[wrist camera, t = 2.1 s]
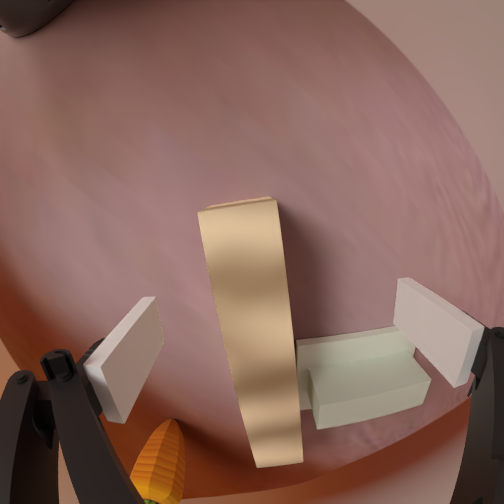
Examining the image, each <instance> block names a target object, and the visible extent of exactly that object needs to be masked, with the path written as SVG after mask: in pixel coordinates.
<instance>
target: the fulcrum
mask: <svg viewBox="0 0 504 504" xmlns="http://www.w3.org/2000/svg"><path fill="white" fill-rule="evenodd" d="M415 347H416V346H415V345H414V344H413V343H412V342H411V341H410V340H409V339H408V338H407V337H406V336H405V335H404V334H403V333H402V332H401V331H400V330H399V329H398V328H397V327H396V326H391V327H386V328H380V329H374V330H368V331H362V332H356V333H349V334H342V335H334V336H326V337H318V338H309V339H300V340H296V371H297V382H298V394H299V406H300V410H307V409H312V412H313V415H314V419H315V423H316V427H317V430H318V429H324V428H330V427H336V426H341V425H346V424H351V423H356V422H361V421H365V420H369V419H373V418H377V417H381V416H385V415H389V414H392V413H396V412H399V411H402V410H406V409H409V408H412V407H415V406H418V405H421V404H423V402H424V399H425V396H426V393H427V391H428V388H429V385H430V382H431V378H430V377H429V376H428V375H427V373H426V372H425V371H424V370H423V369H422V367H421V366H420V365H419V364H418V363H417V362H416V360H415V359H414V358H413V355H414V351H415Z"/></svg>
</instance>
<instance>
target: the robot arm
mask: <svg viewBox="0 0 504 504" xmlns="http://www.w3.org/2000/svg"><path fill="white" fill-rule="evenodd" d="M73 1H74V0H0V30H1V31H2V32H4V33H6V34H8V35H10V36H12V37H21V36H25V35H27V34H29V33H31V32H33V31H35V30H37V29H39V28H40V27H42V26H43V25H45V24H46V23H47V22H49V21H50V20H52V19H53V18H54V17H55V16H57V15H58V14H59V13H60V12H61V11H63V10H64V9H65V8H66V7H67V6H68V5H69V4H70V3H72V2H73ZM393 324H394V325H395V326H396V327H397V328H398V329H399V330H400V331H401V332H402V333H403V334H404V335H405V336H406V337H407V338H408V339H409V340H410V341H411V342H412V343H413V344H414V345H415V346H416V347H417V348H418V349H419V350H420V352H421V353H422V354H423V355H424V356H425V357H426V358H427V359H428V360H429V361H430V362H431V363H432V364H433V365H434V366H435V368H436V369H437V370H438V371H439V372H440V373H441V374H442V375H443V376H444V377H445V378H446V380H447V381H448V382H449V383H450V384H451V385H452V386H453V387H454V388H456V387H458V386H461V385H463V384H465V383H467V380H468V378H469V375H470V372H472V373H474V374H475V378H474V380H473V383H472V385H471V388H470V390H469V393H468V395H467V396H468V397H469V396H470V394H471V393H472V398H471V408H470V417H469V424H468V431H467V437H466V443H465V448H464V453H463V457H462V463H461V466H460V470H459V475H458V478H457V482H456V485H455V489H454V492H453V496H452V498H451V501H450V504H504V328H503V327H494V328H492V329H491V330H490V329H489V328H487V327H486V326H485V325H483V324H482V323H480V322H479V321H477V320H475V319H474V318H473V317H471V316H470V315H468V314H467V313H465V312H464V311H462V310H460V309H458V308H457V307H455V306H453V305H452V304H450V303H449V302H447V301H446V300H444V299H443V298H441V297H440V296H438V295H437V294H435V293H433V292H432V291H430V290H429V289H427V288H426V287H424V286H422V285H421V284H419V283H418V282H416V281H414V280H413V279H411V278H409V277H407V278H399V279H398V284H397V295H396V304H395V312H394V320H393ZM164 343H165V339H164V334H163V329H162V325H161V320H160V315H159V310H158V304H157V299H156V297H143V298H142V299H141V300H140V301H139V302H138V303H137V304H136V305H135V306H134V307H133V308H132V310H131V311H130V312H129V313H128V314H127V315H126V316H125V317H124V318H123V319H122V321H121V322H120V323H119V324H118V325H117V326H116V327H115V328H114V329H113V331H112V332H111V333H110V334H109V335H108V336H107V337H106V338H102V339H101V340H99V341H97V342H96V343H94V344H93V345H92V346H91V348H90V349H89V350H88V351H87V352H86V353H85V355H83V356H82V358H81V359H80V360H79V361H78V362H77V363H76V364H75V363H74V360H73V357H72V355H71V353H70V351H68V350H66V349H58V350H53V351H50V352H48V353H47V354H45V355H44V356H43V357H42V358H41V360H40V363H41V366H42V368H43V370H44V373H45V375H46V377H47V379H48V381H37V380H36V378H35V376H34V374H33V372H32V371H29V370H22V371H18V372H15V373H14V374H13V375H12V376H11V377H10V378H9V380H8V382H7V384H6V387H5V389H4V392H3V394H2V397H1V400H0V504H59V493H58V451H59V441H60V445H61V449H62V452H63V456H64V459H65V463H66V466H67V469H68V472H69V475H70V479H71V482H72V484H73V487H74V490H75V493H76V495H77V498H78V500H79V503H80V504H146V503H145V501H144V500H143V498H142V497H141V495H140V494H139V492H138V491H137V489H136V487H135V486H134V484H133V482H132V481H131V479H130V477H129V476H128V474H127V472H126V470H125V469H124V467H123V465H122V463H121V461H120V459H119V458H118V456H117V454H116V452H115V450H114V448H113V446H112V444H111V442H110V440H109V438H108V435H107V433H106V431H105V429H104V427H103V425H102V422H101V420H100V418H99V416H100V414H101V412H102V410H103V412H104V414H105V416H106V418H107V420H108V421H111V422H117V423H123V424H125V422H126V419H127V417H128V415H129V413H130V411H131V409H132V407H133V405H134V403H135V401H136V399H137V397H138V395H139V393H140V391H141V389H142V387H143V385H144V383H145V381H146V379H147V377H148V375H149V373H150V371H151V369H152V367H153V365H154V363H155V361H156V359H157V357H158V355H159V353H160V351H161V349H162V347H163V345H164Z"/></svg>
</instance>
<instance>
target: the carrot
mask: <svg viewBox="0 0 504 504" xmlns="http://www.w3.org/2000/svg"><path fill="white" fill-rule="evenodd" d="M185 470H186V454H185V443H184V439H183V435H182V432H181V430H180V427H179V425H178V423H177V421H176V420H174V419H168V420H167V421H165V422H164V423H162V424H161V425H160V426H159V427H158V428H157V429H156V430H155V431H154V432H153V434H152V435H151V436H150V438H149V439H148V441H147V443H146V444H145V446H144V448H143V449H142V451H141V453H140V454H139V456H138V458H137V461H136V463H135V465H134V468H133V470H132V473H131V475H130V479H131V481H132V482H133V484H134V486H135V487H136V489H137V491H138V492H139V494H140V495H141V497H142V498H143V500H144V501H145V503H146V504H178V503H179V502H180V501H181V499H182V494H183V487H184V479H185Z"/></svg>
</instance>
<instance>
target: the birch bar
mask: <svg viewBox="0 0 504 504" xmlns="http://www.w3.org/2000/svg"><path fill="white" fill-rule="evenodd" d="M198 219H199V225H200V230H201V236H202V241H203V246H204V252H205V257H206V262H207V267H208V272H209V277H210V282H211V287H212V292H213V296H214V301H215V306H216V310H217V315H218V319H219V324H220V328H221V333H222V337H223V342H224V346H225V350H226V354H227V358H228V363H229V367H230V371H231V375H232V379H233V383H234V387H235V391H236V395H237V398H238V402H239V406H240V410H241V413H242V417H243V421H244V424H245V428H246V432H247V435H248V439H249V442H250V446H251V449H252V453H253V456H254V459H255V463H256V466H257V468H261V467H271V466H279V465H287V464H294V463H300V462H303V448H302V433H301V419H300V406H299V394H298V382H297V371H296V360H295V350H294V340H293V330H292V321H291V311H290V302H289V294H288V285H287V276H286V268H285V260H284V252H283V244H282V237H281V229H280V222H279V214H278V207H277V200H275V199H273V198H271V197H263V198H256V199H249V200H243V201H236V202H230V203H224V204H218V205H212V206H209V207H207V208H205V209H203V210H202V211H200V212H198Z"/></svg>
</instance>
